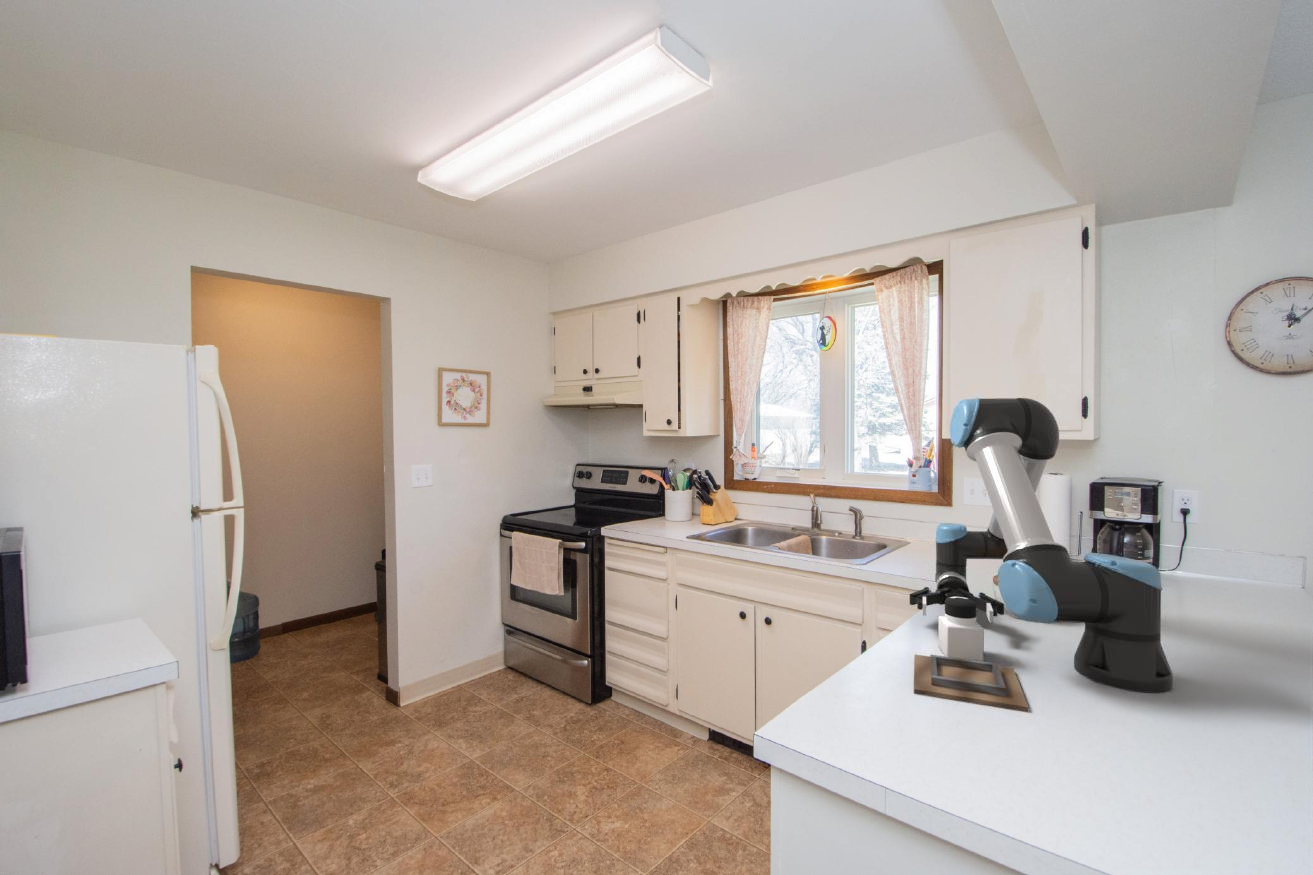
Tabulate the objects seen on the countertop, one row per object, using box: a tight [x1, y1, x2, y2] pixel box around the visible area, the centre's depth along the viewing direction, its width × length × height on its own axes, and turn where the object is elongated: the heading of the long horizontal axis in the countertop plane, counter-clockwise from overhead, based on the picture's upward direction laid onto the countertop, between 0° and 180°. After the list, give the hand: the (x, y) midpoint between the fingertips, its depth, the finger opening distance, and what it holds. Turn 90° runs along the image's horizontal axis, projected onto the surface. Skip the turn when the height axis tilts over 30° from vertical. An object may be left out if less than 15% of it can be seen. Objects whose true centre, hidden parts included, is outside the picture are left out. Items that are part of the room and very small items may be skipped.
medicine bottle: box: [938, 597, 985, 662], centre depth 126 cm, size 7×7×12 cm
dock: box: [913, 654, 1029, 713], centre depth 113 cm, size 18×18×2 cm
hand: (957, 613), depth 134 cm, fingers open, 13 cm apart
